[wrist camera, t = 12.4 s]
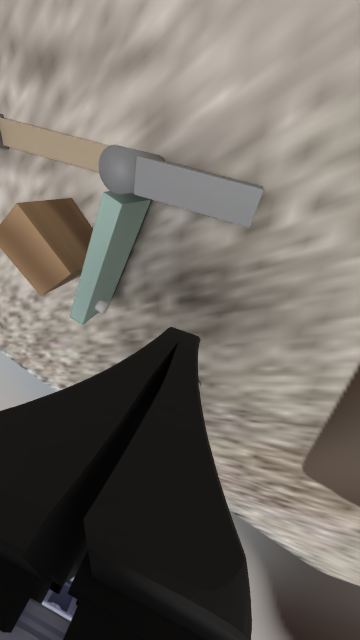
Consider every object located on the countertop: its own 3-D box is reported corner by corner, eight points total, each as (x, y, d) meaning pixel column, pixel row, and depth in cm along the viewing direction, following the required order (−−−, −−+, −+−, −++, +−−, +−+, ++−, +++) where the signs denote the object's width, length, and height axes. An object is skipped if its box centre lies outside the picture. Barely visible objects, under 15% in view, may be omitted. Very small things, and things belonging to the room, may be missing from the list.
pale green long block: (128, 183, 15) (92, 184, 12) (160, 205, 16) (133, 211, 12) (92, 292, 21) (62, 312, 18) (116, 307, 21) (89, 330, 18)
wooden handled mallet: (251, 217, 15) (248, 232, 11) (-13, 142, 18) (-96, 131, 13) (264, 183, 14) (265, 184, 10) (-21, 108, 16) (-114, 84, 12)
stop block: (72, 197, 18) (16, 203, 14) (110, 254, 19) (70, 273, 15) (46, 224, 20) (-10, 236, 16) (82, 274, 21) (41, 296, 17)
